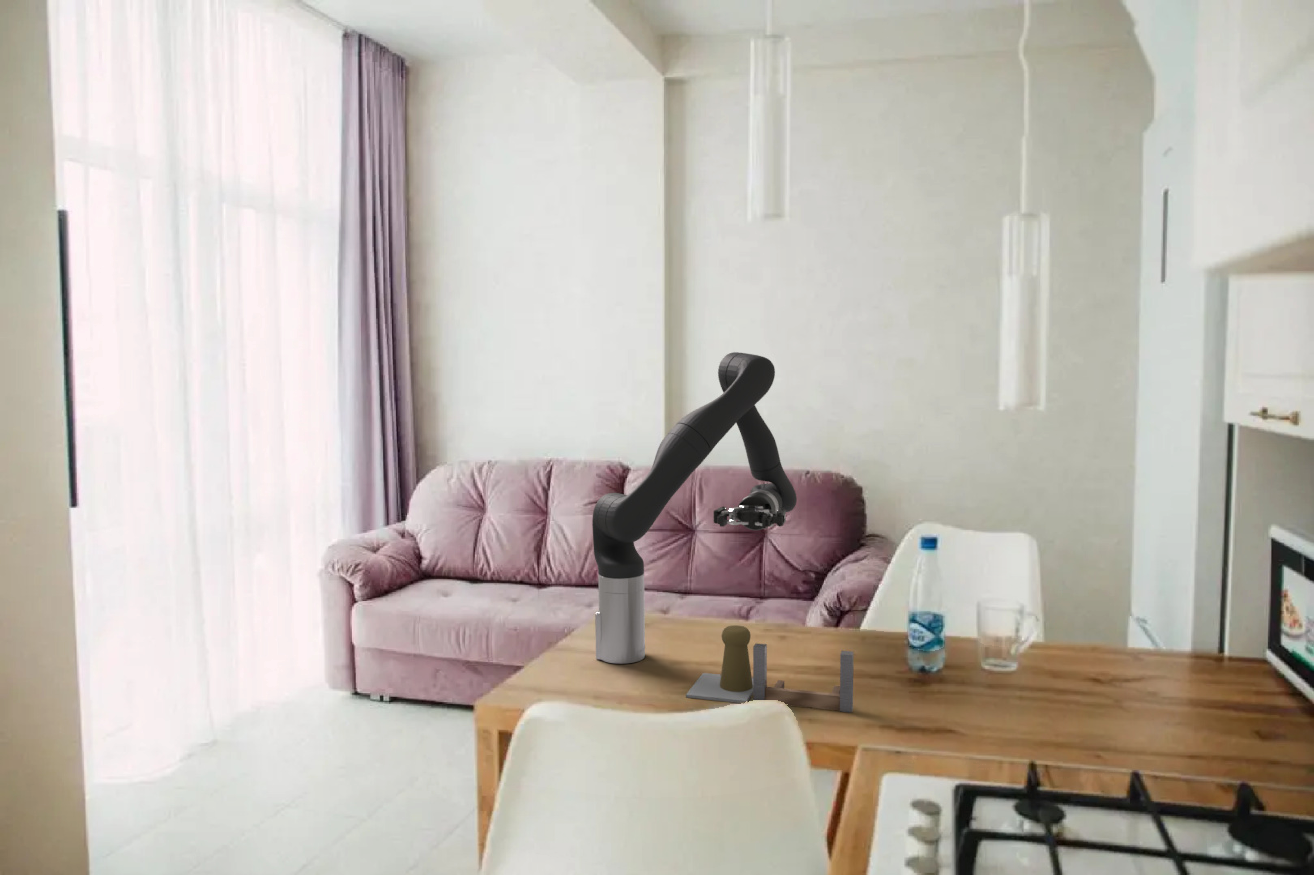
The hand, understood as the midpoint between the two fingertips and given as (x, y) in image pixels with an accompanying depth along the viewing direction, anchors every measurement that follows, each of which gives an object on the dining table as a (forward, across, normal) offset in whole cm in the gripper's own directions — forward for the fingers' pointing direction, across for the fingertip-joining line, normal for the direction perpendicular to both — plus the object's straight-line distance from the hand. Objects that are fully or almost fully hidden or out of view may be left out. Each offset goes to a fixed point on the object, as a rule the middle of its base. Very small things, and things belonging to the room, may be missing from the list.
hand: (742, 522), depth 183 cm
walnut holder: (+17, +15, +28) cm, 36 cm away
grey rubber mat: (+16, 0, +28) cm, 32 cm away
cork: (+15, +2, +28) cm, 32 cm away
